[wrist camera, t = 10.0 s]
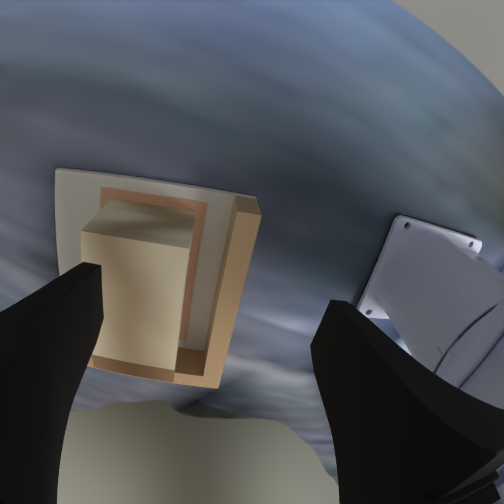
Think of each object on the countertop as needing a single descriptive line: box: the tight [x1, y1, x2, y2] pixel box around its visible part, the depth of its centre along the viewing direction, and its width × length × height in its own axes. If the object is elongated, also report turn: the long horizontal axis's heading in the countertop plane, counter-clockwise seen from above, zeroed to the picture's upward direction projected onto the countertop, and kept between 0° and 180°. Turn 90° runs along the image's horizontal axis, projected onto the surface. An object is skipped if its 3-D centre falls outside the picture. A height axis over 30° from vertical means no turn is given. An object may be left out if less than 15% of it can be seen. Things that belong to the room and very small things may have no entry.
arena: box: [55, 168, 262, 388], centre depth 18 cm, size 12×13×3 cm
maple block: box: [80, 199, 197, 383], centre depth 17 cm, size 5×9×4 cm, turn 167°
